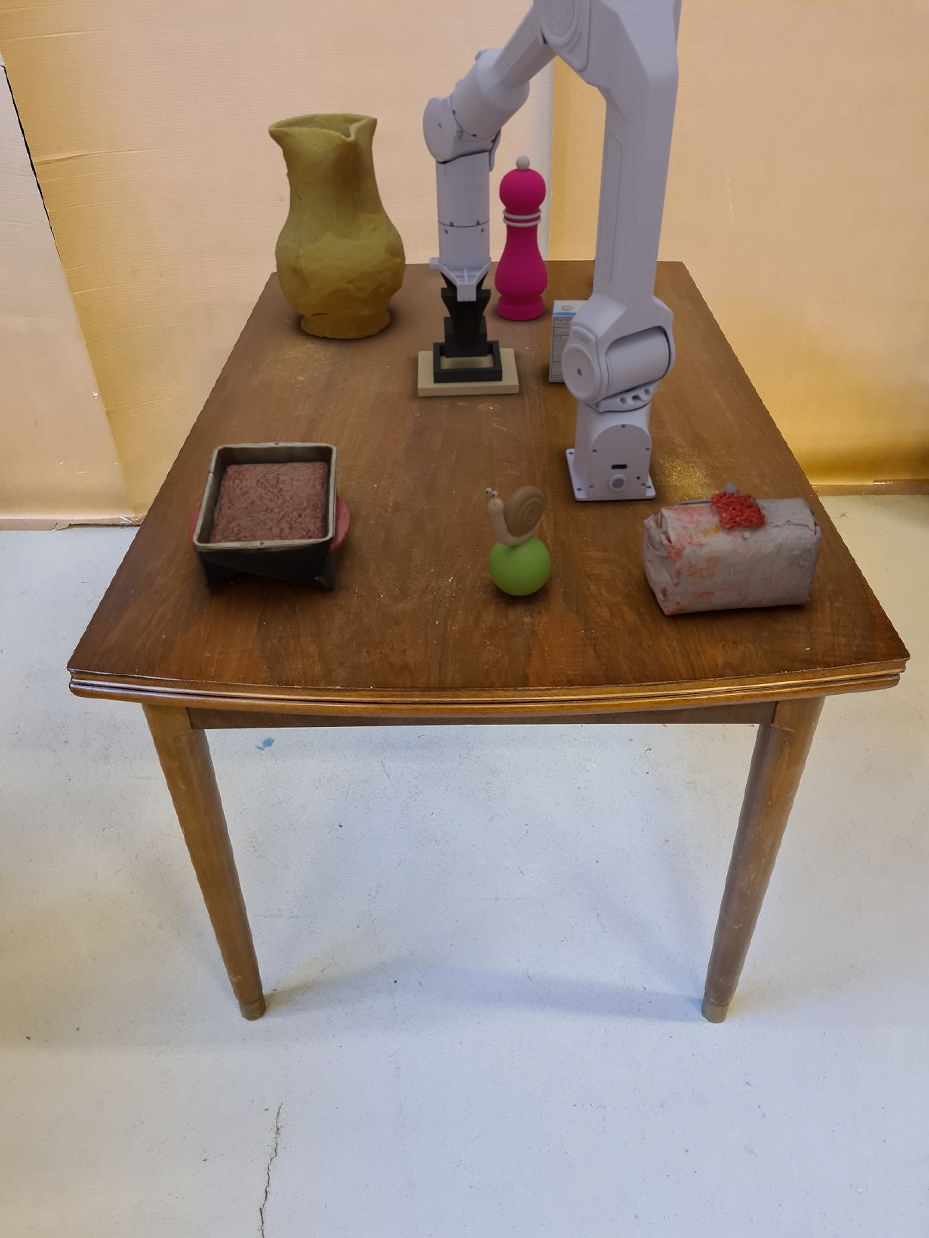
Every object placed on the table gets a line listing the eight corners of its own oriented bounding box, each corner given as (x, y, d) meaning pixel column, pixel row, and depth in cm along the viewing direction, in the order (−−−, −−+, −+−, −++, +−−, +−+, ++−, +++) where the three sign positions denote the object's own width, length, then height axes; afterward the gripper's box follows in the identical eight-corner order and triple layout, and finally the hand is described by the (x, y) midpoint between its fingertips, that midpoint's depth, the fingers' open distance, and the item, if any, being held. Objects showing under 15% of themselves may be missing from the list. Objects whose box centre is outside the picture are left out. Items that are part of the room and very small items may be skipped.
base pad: (518, 393, 108) (519, 372, 106) (418, 397, 108) (416, 376, 106) (512, 356, 116) (513, 336, 114) (419, 360, 116) (417, 339, 114)
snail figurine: (468, 594, 80) (464, 478, 72) (517, 562, 83) (519, 448, 76) (512, 622, 77) (514, 504, 69) (562, 588, 80) (569, 472, 73)
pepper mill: (487, 306, 128) (486, 151, 115) (535, 298, 130) (539, 145, 116) (504, 325, 123) (505, 166, 110) (554, 318, 124) (561, 160, 111)
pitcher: (275, 348, 118) (248, 133, 103) (291, 299, 133) (270, 105, 117) (406, 347, 119) (399, 133, 103) (409, 299, 133) (402, 106, 118)
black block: (487, 356, 108) (487, 331, 106) (445, 358, 108) (444, 332, 106) (485, 339, 111) (485, 314, 109) (444, 340, 111) (443, 315, 109)
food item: (654, 626, 76) (669, 531, 70) (633, 568, 82) (645, 475, 76) (813, 615, 77) (842, 519, 70) (781, 558, 83) (805, 465, 76)
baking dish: (365, 520, 92) (348, 427, 87) (345, 613, 77) (324, 507, 72) (227, 533, 93) (202, 441, 88) (180, 627, 78) (147, 523, 73)
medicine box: (613, 368, 113) (619, 300, 107) (614, 385, 109) (620, 315, 103) (549, 367, 113) (552, 298, 108) (548, 383, 110) (551, 314, 104)
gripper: (427, 199, 105) (432, 313, 114) (427, 243, 94) (432, 365, 103) (488, 197, 105) (488, 311, 114) (494, 240, 94) (494, 363, 103)
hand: (466, 337), depth 109 cm, fingers closed on black block, 5 cm apart
